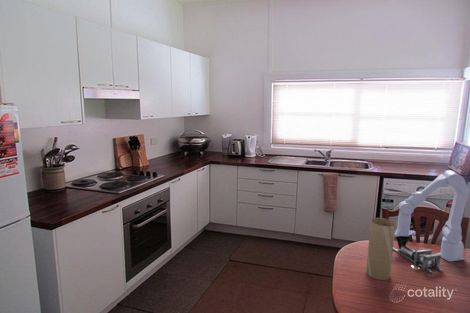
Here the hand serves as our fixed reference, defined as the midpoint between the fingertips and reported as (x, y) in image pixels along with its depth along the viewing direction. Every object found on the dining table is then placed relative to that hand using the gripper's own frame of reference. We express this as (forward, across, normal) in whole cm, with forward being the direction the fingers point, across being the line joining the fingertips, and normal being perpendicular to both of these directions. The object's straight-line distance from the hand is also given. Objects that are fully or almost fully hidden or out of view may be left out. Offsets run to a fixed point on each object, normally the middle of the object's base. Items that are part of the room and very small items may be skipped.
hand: (401, 248), depth 167 cm
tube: (+1, +27, +16) cm, 31 cm away
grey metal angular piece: (+1, +2, +9) cm, 10 cm away
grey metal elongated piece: (+1, 0, +10) cm, 10 cm away
